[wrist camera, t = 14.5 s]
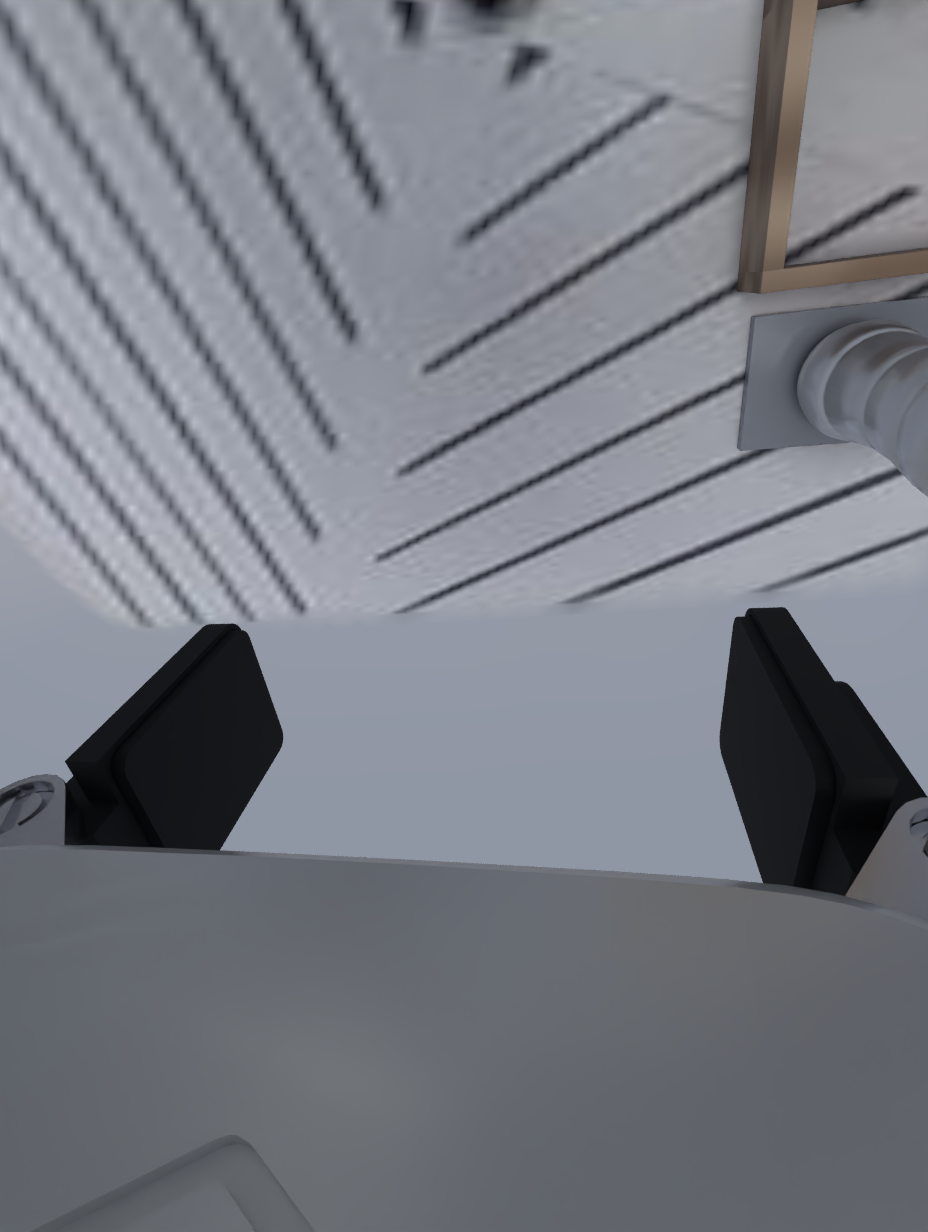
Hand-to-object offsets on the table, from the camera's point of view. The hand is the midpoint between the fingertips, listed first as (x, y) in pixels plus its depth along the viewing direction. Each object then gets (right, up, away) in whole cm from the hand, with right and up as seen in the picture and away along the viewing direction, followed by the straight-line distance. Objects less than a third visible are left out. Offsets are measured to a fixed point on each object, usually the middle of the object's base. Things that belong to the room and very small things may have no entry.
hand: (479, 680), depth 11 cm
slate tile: (+23, +16, +25) cm, 38 cm away
